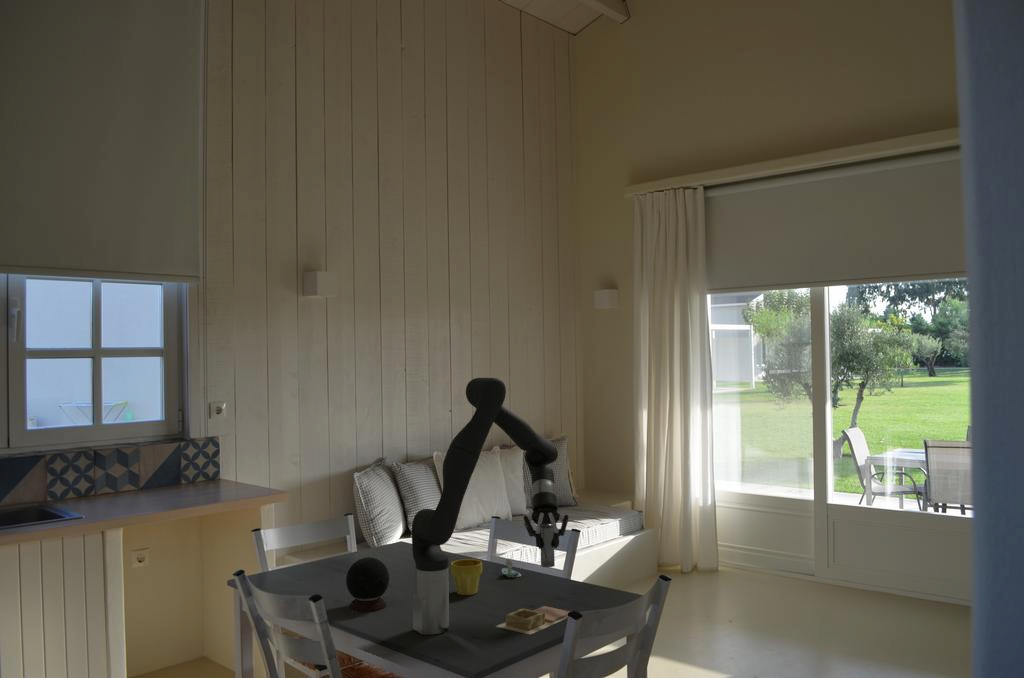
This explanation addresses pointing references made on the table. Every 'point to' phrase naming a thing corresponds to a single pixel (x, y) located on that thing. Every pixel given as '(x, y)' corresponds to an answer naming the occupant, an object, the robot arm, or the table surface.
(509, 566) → the pacifier
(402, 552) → the table surface
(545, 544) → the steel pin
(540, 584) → the table surface
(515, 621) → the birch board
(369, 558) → the black ball on stand
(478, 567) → the plant pot
